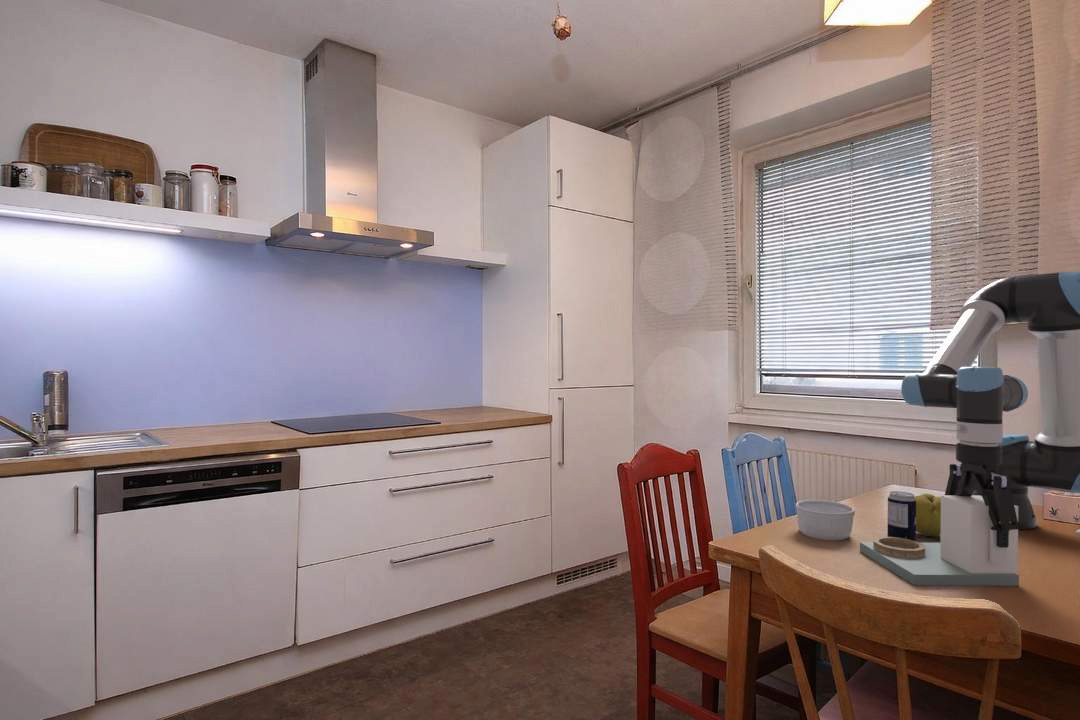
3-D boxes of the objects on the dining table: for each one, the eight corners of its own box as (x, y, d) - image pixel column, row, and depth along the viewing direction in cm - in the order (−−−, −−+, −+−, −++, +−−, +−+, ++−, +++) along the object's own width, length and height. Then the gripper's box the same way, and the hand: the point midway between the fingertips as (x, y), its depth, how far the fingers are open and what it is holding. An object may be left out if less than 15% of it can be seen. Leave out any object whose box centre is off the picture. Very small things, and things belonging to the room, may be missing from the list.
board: (949, 551, 136) (949, 498, 135) (1018, 585, 116) (1019, 523, 115) (859, 551, 136) (860, 497, 136) (914, 585, 116) (914, 522, 116)
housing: (983, 557, 126) (984, 495, 125) (1017, 573, 117) (1018, 506, 116) (940, 557, 126) (940, 495, 125) (970, 573, 117) (971, 506, 116)
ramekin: (827, 545, 140) (827, 515, 140) (783, 530, 152) (783, 502, 152) (866, 538, 145) (867, 509, 145) (821, 524, 157) (821, 497, 157)
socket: (907, 543, 135) (907, 536, 135) (935, 557, 125) (935, 550, 125) (864, 543, 135) (865, 536, 135) (889, 557, 125) (889, 550, 125)
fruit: (900, 526, 155) (900, 488, 155) (955, 533, 149) (955, 493, 149) (900, 538, 146) (901, 496, 146) (960, 545, 140) (960, 502, 140)
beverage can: (920, 549, 137) (920, 497, 137) (892, 548, 138) (893, 495, 138) (910, 542, 142) (910, 491, 142) (883, 540, 143) (884, 490, 143)
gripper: (923, 435, 132) (923, 536, 133) (1003, 452, 109) (1002, 574, 110) (958, 435, 132) (957, 536, 132) (1045, 452, 109) (1043, 574, 110)
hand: (977, 553), depth 121 cm, fingers open, 10 cm apart
